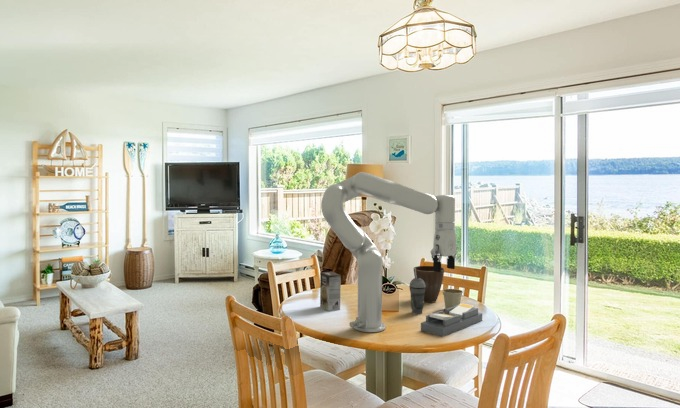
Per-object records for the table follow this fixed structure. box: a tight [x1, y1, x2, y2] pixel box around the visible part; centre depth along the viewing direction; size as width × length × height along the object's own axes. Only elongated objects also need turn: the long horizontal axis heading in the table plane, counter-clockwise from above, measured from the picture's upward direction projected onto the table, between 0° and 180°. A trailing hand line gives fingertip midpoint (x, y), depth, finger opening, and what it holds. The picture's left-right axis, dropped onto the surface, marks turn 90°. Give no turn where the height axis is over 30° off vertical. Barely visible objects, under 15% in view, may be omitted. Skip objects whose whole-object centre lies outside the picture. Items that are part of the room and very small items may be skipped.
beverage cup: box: [408, 268, 426, 315], centre depth 203 cm, size 7×7×20 cm
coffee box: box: [319, 271, 342, 312], centre depth 209 cm, size 9×6×16 cm
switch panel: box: [420, 305, 483, 337], centre depth 184 cm, size 30×10×5 cm, turn 135°
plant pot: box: [412, 265, 445, 303], centre depth 225 cm, size 15×15×16 cm
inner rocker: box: [429, 313, 453, 320], centre depth 179 cm, size 10×6×1 cm, turn 135°
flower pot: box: [441, 288, 464, 309], centre depth 208 cm, size 9×9×9 cm
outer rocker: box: [449, 302, 476, 318], centre depth 189 cm, size 10×6×1 cm, turn 135°
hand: (444, 270), depth 179 cm, fingers open, 9 cm apart
